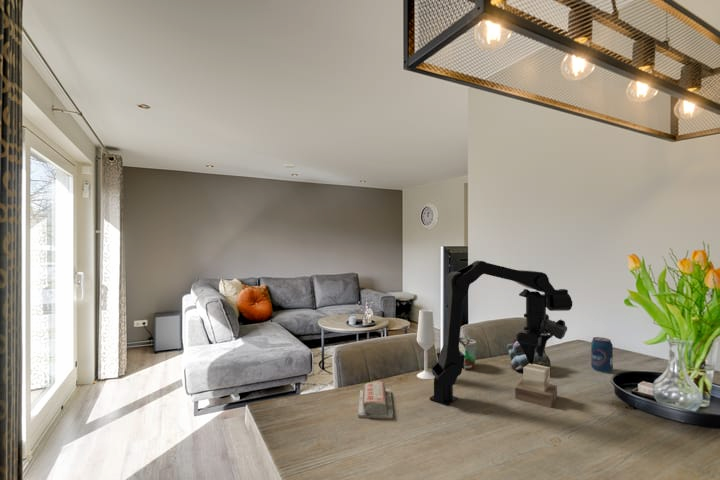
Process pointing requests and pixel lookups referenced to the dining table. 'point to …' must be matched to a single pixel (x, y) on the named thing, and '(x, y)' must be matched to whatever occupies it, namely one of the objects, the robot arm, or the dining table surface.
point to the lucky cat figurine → (524, 357)
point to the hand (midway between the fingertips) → (536, 360)
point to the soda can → (602, 355)
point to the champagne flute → (425, 339)
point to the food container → (468, 352)
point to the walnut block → (536, 395)
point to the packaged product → (375, 401)
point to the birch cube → (536, 377)
